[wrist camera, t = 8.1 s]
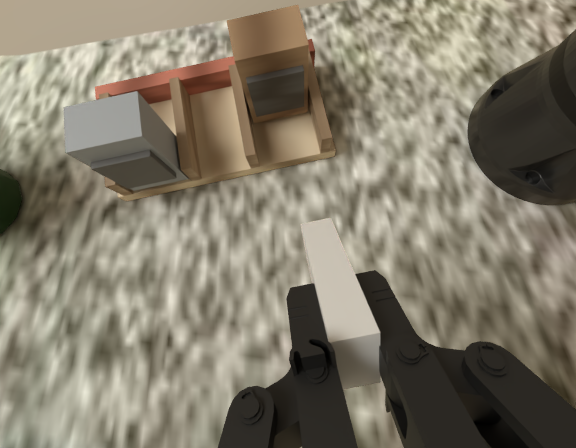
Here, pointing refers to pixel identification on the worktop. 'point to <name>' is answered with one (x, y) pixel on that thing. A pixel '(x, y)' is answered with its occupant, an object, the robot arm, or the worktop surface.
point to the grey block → (123, 141)
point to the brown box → (272, 62)
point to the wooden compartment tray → (224, 125)
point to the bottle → (8, 200)
